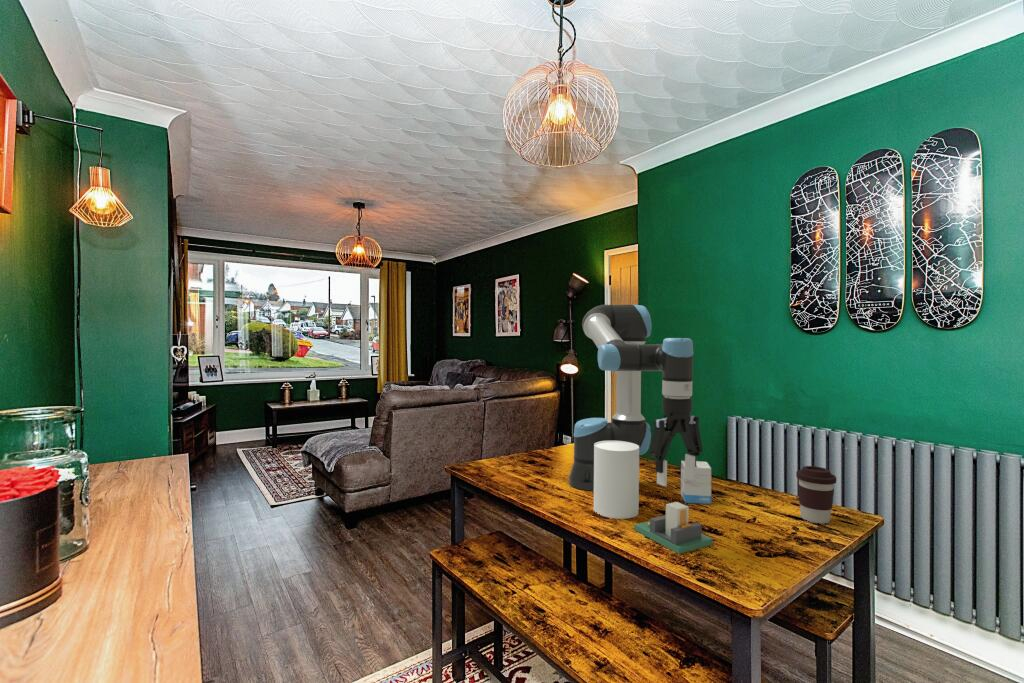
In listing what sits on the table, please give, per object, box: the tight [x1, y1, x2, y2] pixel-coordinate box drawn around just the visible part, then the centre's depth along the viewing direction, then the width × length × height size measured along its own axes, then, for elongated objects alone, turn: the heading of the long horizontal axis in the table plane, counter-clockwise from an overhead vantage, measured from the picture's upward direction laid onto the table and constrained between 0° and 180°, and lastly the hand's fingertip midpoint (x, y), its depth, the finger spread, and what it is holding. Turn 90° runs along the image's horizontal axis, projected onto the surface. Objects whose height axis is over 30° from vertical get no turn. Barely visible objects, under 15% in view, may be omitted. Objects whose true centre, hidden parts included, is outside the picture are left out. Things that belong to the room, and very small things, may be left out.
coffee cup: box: [795, 465, 837, 525], centre depth 140 cm, size 10×10×15 cm
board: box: [634, 514, 714, 555], centre depth 127 cm, size 16×12×5 cm
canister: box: [593, 441, 640, 520], centre depth 146 cm, size 14×14×20 cm
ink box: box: [680, 459, 712, 505], centre depth 156 cm, size 9×8×13 cm
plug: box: [665, 501, 690, 537], centre depth 124 cm, size 4×4×8 cm
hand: (676, 481), depth 125 cm, fingers open, 9 cm apart
